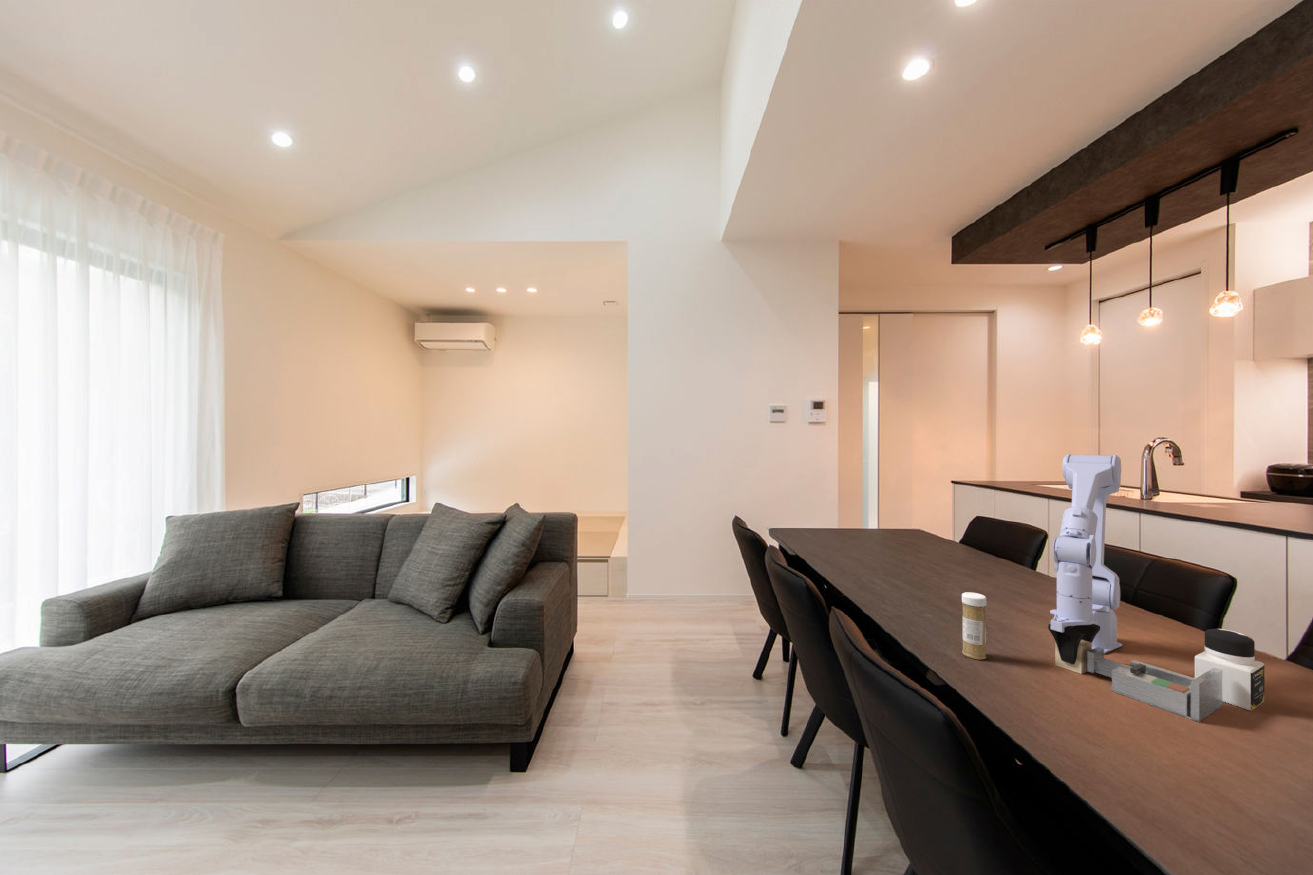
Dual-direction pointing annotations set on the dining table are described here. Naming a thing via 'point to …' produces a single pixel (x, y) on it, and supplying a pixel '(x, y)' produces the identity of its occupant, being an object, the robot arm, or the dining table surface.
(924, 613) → the dining table surface
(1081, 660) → the block
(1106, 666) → the grey l-shaped piece
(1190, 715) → the gauge housing
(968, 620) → the sprinkles bottle
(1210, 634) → the medicine bottle
